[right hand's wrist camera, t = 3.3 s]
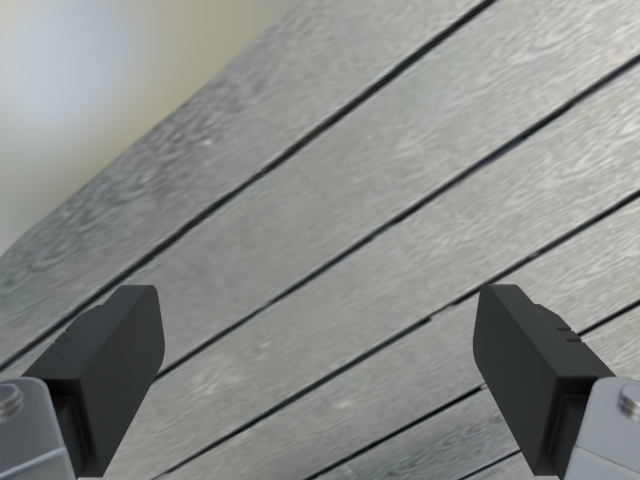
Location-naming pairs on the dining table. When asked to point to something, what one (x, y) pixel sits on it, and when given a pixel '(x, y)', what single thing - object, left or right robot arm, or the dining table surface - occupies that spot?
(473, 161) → the dining table surface
